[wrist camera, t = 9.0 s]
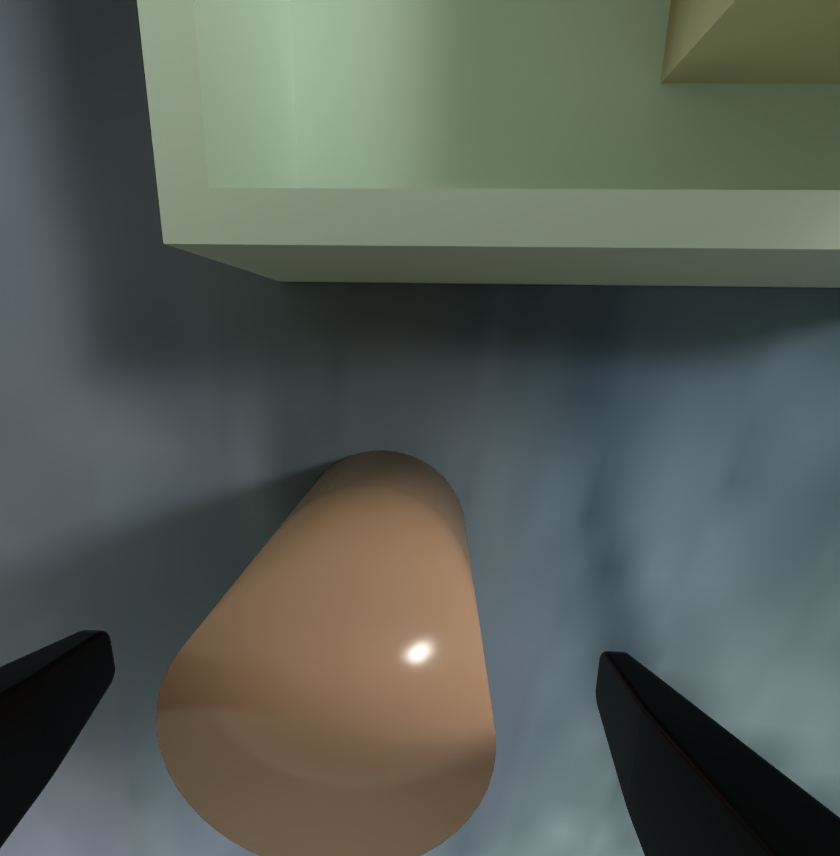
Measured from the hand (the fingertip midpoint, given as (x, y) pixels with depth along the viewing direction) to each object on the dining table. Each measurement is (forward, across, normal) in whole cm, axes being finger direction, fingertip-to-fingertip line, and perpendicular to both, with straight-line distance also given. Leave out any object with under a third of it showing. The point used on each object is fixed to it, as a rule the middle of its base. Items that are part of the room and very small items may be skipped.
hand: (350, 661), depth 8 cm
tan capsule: (+6, 0, 0) cm, 6 cm away
